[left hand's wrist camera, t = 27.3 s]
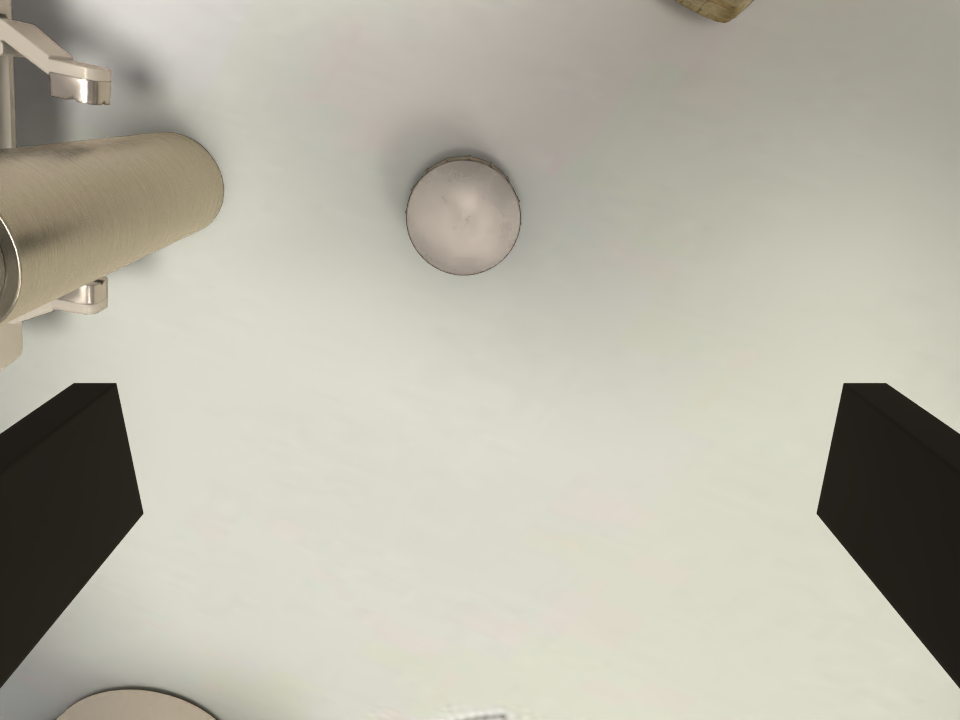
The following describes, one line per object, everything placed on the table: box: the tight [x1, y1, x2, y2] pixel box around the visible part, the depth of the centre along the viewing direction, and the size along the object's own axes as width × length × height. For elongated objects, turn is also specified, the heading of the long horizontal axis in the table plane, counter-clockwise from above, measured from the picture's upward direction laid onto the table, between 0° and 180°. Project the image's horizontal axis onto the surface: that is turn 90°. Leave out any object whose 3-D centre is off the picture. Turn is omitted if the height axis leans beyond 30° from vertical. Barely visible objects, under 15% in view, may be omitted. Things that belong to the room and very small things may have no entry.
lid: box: [405, 155, 521, 275], centre depth 36 cm, size 6×6×2 cm
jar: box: [0, 132, 224, 326], centre depth 27 cm, size 5×5×20 cm
